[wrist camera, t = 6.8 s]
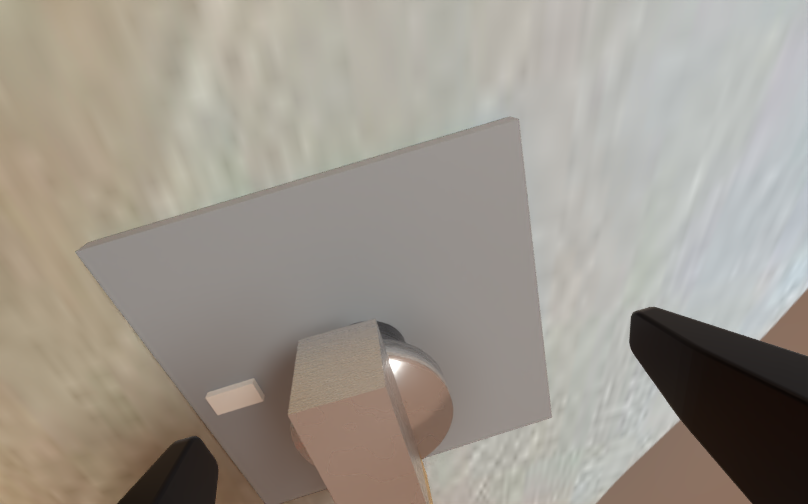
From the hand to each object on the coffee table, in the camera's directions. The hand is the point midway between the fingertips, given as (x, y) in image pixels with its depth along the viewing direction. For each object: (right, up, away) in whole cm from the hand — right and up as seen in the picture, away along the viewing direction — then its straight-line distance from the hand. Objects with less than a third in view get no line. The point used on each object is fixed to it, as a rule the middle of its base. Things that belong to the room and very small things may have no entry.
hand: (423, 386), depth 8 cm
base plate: (-3, -2, +14) cm, 15 cm away
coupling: (-2, -4, +10) cm, 11 cm away
